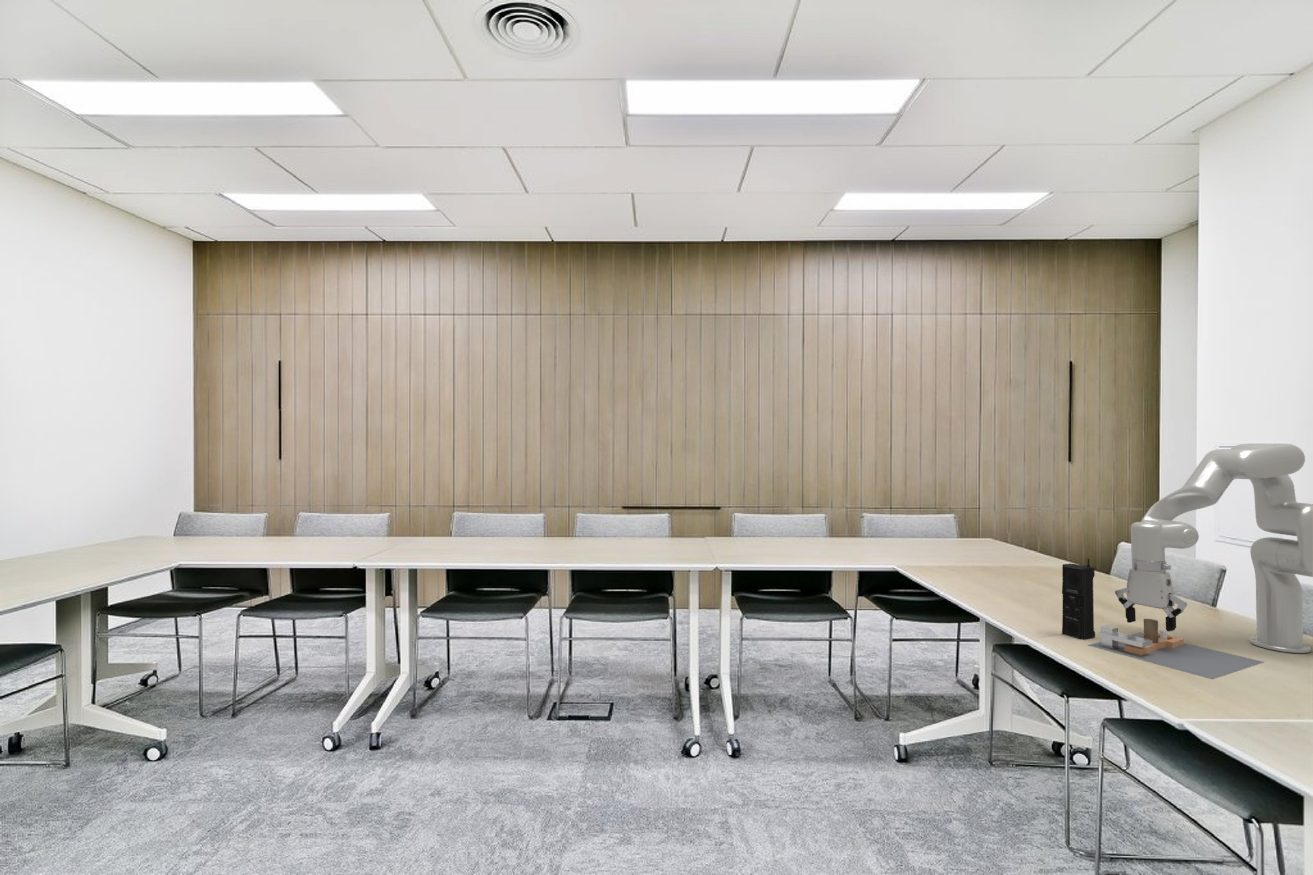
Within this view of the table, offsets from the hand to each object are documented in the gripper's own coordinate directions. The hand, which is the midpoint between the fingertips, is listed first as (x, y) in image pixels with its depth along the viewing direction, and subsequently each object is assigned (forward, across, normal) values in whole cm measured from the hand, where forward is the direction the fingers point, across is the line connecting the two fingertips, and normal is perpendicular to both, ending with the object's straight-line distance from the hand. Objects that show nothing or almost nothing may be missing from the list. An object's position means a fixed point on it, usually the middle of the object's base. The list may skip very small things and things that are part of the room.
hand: (1150, 626), depth 176 cm
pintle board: (+7, -5, +1) cm, 9 cm away
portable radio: (+7, +16, +7) cm, 19 cm away
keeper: (+7, +2, +10) cm, 12 cm away
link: (+6, 0, -1) cm, 6 cm away
